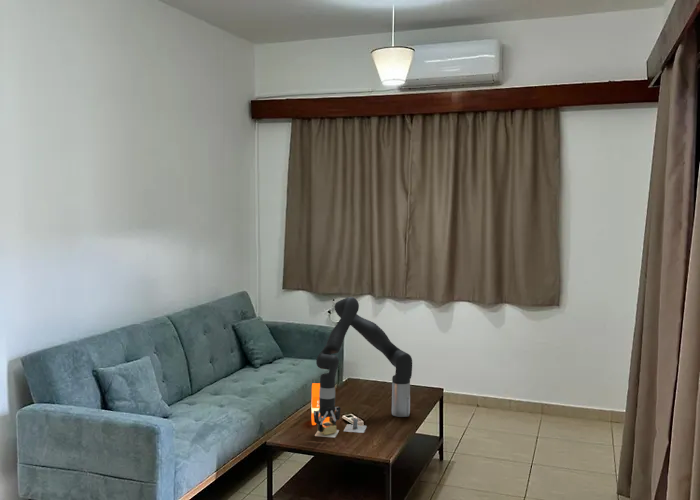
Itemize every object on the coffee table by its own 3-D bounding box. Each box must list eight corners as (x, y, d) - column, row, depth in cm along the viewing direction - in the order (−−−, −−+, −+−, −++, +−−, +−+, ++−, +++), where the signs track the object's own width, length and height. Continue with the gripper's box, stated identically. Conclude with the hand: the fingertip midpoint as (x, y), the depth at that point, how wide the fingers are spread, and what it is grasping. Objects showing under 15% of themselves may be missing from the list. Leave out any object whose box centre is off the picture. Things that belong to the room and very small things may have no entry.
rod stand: (367, 427, 326) (367, 416, 325) (363, 434, 316) (363, 423, 315) (347, 425, 327) (347, 415, 327) (343, 432, 318) (343, 422, 317)
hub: (339, 431, 319) (339, 420, 318) (335, 439, 309) (335, 427, 309) (319, 430, 321) (319, 419, 320) (314, 437, 311) (314, 426, 310)
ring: (328, 428, 319) (329, 421, 319) (336, 432, 314) (336, 425, 314) (317, 430, 316) (317, 423, 315) (324, 434, 310) (324, 427, 310)
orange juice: (311, 419, 335) (311, 381, 334) (328, 419, 336) (329, 380, 335) (311, 425, 328) (312, 385, 326) (329, 424, 328) (330, 385, 327)
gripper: (335, 391, 321) (335, 425, 322) (310, 396, 313) (309, 430, 314) (344, 395, 314) (343, 429, 316) (318, 400, 306) (318, 435, 308)
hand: (326, 430), depth 315 cm, fingers closed on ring, 6 cm apart
